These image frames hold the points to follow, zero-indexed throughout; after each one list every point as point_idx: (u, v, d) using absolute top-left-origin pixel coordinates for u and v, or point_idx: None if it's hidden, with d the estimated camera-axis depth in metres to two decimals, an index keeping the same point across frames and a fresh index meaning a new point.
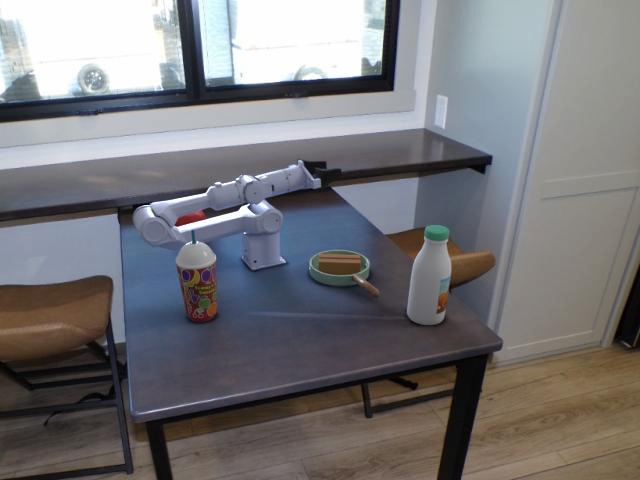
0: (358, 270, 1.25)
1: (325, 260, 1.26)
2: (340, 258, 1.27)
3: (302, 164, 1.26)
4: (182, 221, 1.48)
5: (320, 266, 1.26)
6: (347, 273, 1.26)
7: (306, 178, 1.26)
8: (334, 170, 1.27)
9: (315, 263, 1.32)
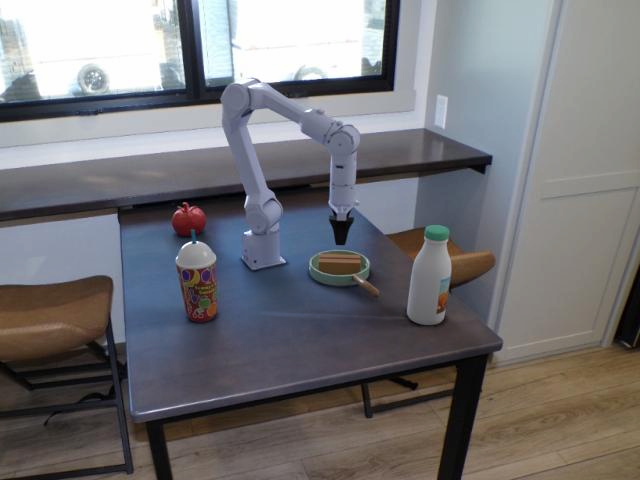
0: (358, 270, 1.25)
1: (325, 260, 1.26)
2: (340, 258, 1.27)
3: (356, 204, 1.18)
4: (182, 221, 1.48)
5: (320, 266, 1.26)
6: (347, 273, 1.26)
7: (343, 206, 1.17)
8: (345, 237, 1.19)
9: (315, 263, 1.32)
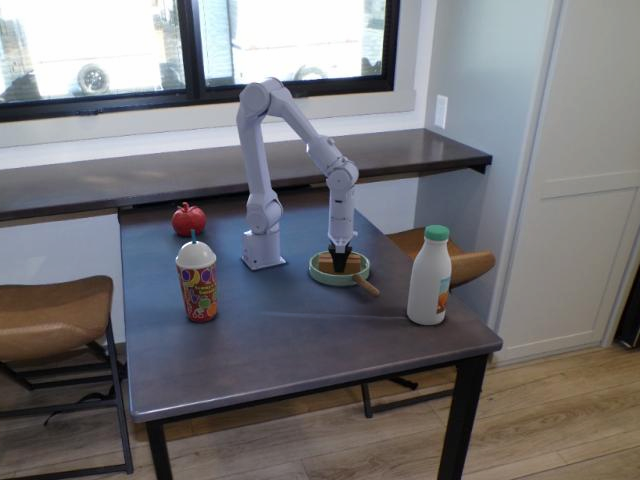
0: (358, 270, 1.25)
1: (325, 259, 1.26)
2: None
3: (355, 236, 1.22)
4: (182, 221, 1.48)
5: (320, 266, 1.26)
6: (347, 273, 1.26)
7: (342, 238, 1.21)
8: (344, 265, 1.24)
9: (315, 263, 1.32)
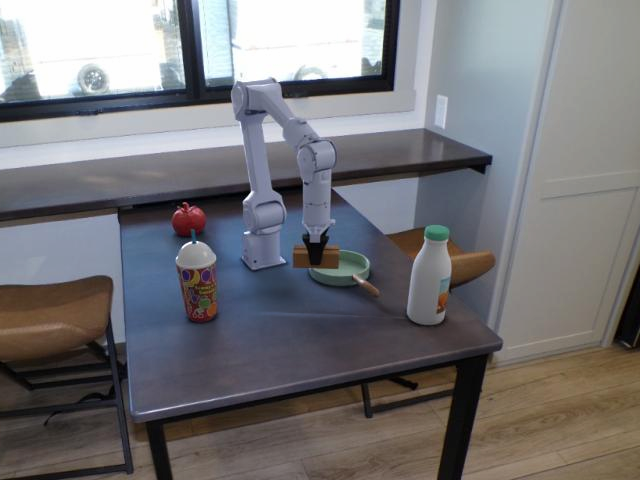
0: (336, 262, 1.13)
1: (300, 251, 1.14)
2: None
3: (332, 224, 1.10)
4: (182, 221, 1.48)
5: (294, 258, 1.13)
6: (324, 265, 1.13)
7: (317, 226, 1.08)
8: (320, 257, 1.12)
9: None
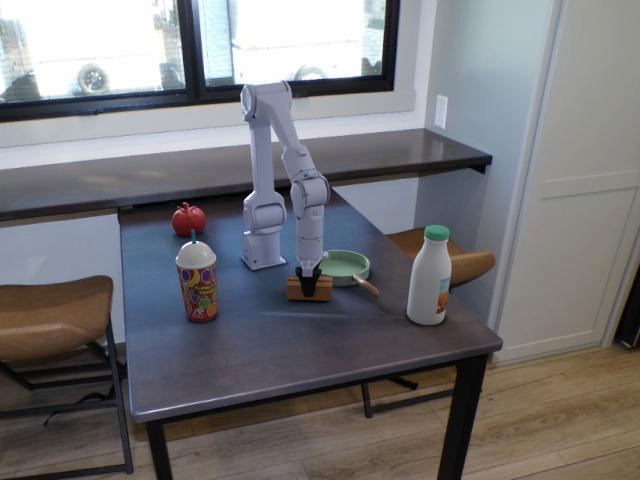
0: (329, 294, 1.14)
1: (293, 282, 1.15)
2: None
3: (325, 257, 1.11)
4: (182, 221, 1.48)
5: (288, 289, 1.15)
6: (317, 297, 1.15)
7: (310, 260, 1.09)
8: (313, 289, 1.13)
9: None
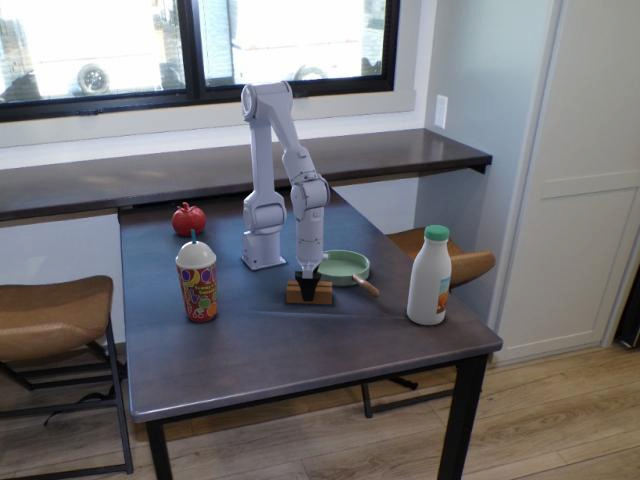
0: (329, 299, 1.15)
1: (293, 287, 1.15)
2: None
3: (324, 259, 1.11)
4: (182, 221, 1.48)
5: (288, 294, 1.15)
6: (317, 302, 1.15)
7: (310, 262, 1.10)
8: (313, 294, 1.12)
9: None
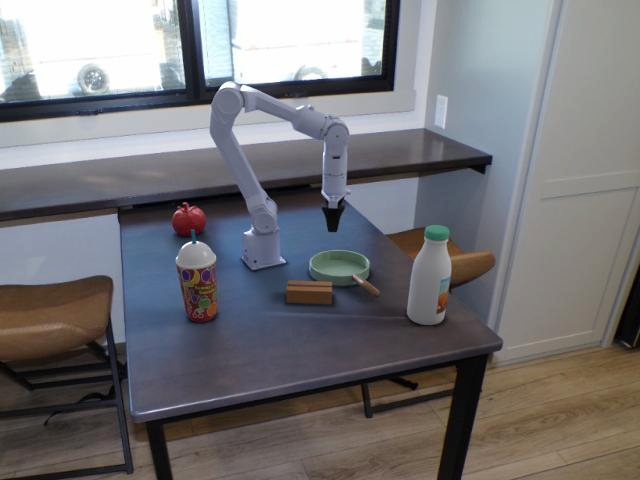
0: (329, 299, 1.15)
1: (293, 287, 1.15)
2: (310, 286, 1.16)
3: (348, 193, 1.25)
4: (182, 221, 1.48)
5: (288, 294, 1.15)
6: (317, 302, 1.15)
7: (335, 195, 1.24)
8: (337, 225, 1.26)
9: (315, 263, 1.32)
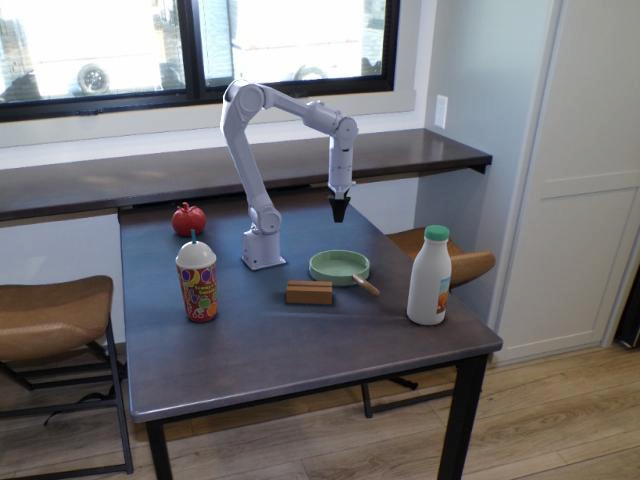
0: (329, 299, 1.15)
1: (293, 287, 1.15)
2: (310, 286, 1.16)
3: (353, 185, 1.30)
4: (182, 221, 1.48)
5: (288, 294, 1.15)
6: (317, 302, 1.15)
7: (341, 187, 1.29)
8: (343, 215, 1.31)
9: (315, 263, 1.32)
